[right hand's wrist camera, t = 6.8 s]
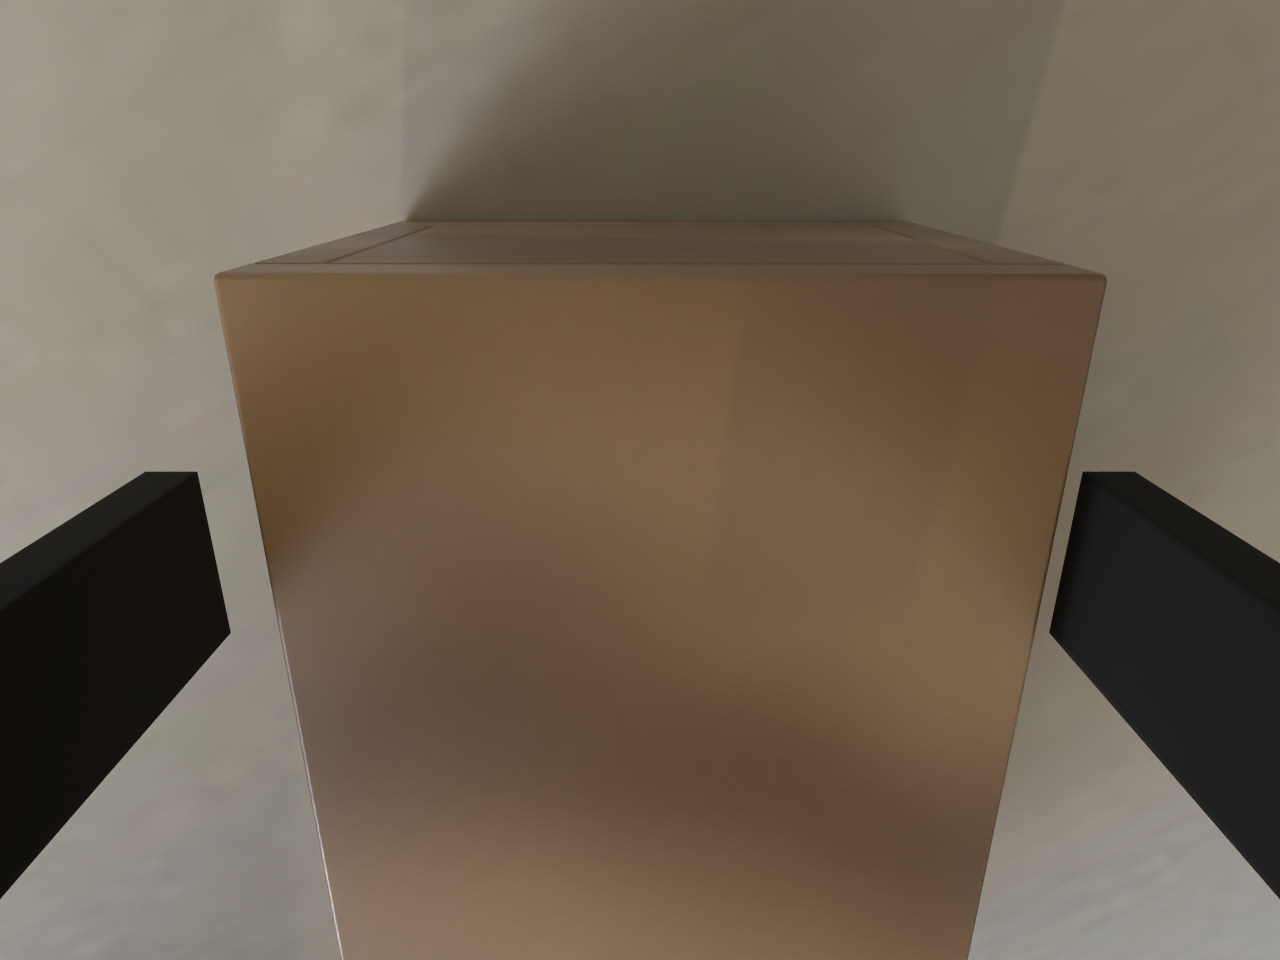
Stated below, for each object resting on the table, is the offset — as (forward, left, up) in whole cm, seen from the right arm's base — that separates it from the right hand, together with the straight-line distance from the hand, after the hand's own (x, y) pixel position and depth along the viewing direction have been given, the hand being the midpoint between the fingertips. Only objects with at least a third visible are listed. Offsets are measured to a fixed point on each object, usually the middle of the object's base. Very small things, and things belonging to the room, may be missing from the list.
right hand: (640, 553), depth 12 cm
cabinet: (+1, +4, -8) cm, 9 cm away
